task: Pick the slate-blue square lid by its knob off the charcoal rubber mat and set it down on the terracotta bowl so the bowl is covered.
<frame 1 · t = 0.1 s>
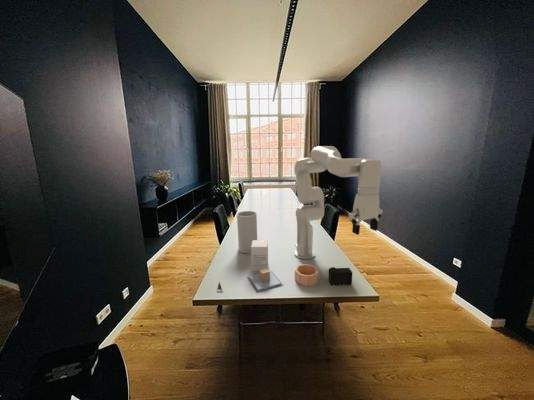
hand: (364, 231, 91), 31 cm above the table, fingers open, 9 cm apart
mat: (264, 282, 110), on the table
lid: (264, 281, 110), point 1 cm above the table, touching mat
digital camera: (339, 282, 110), on the table
supplement box: (260, 268, 124), on the table
bowl: (306, 280, 111), on the table
cylinder vase: (248, 249, 147), on the table
rose gold cell phone: (225, 283, 111), on the table
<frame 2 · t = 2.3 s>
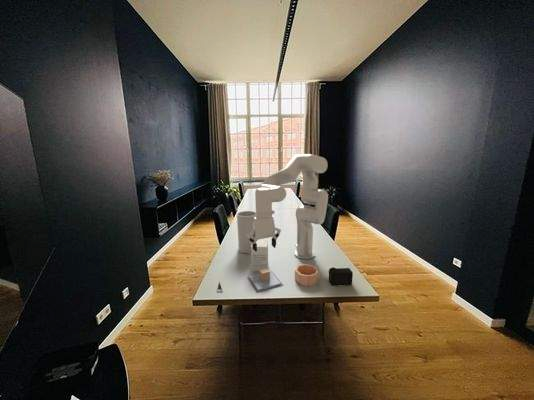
hand: (264, 248, 106), 19 cm above the table, fingers open, 9 cm apart
nothing on the table moved.
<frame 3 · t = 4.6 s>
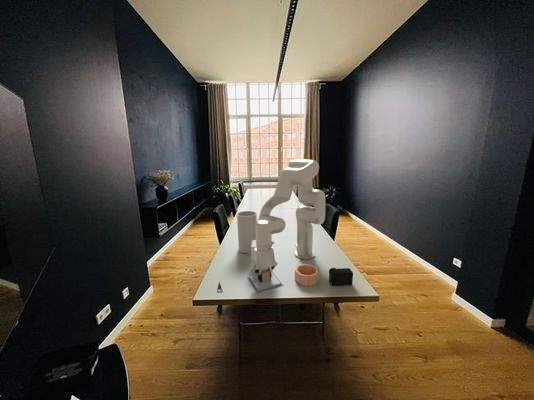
hand: (264, 279, 110), 2 cm above the table, fingers closed on lid, 4 cm apart
lid: (264, 281, 110), point 1 cm above the table, touching gripper, mat
everything else where it was.
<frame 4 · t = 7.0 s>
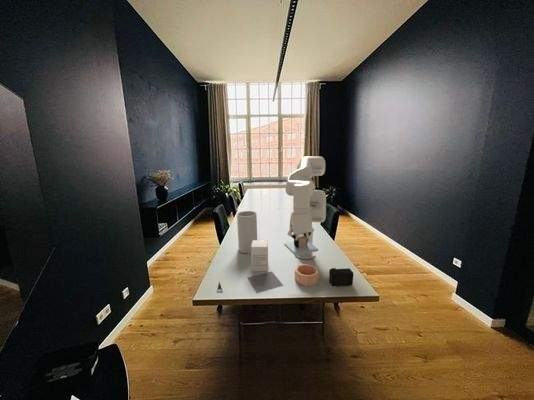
hand: (300, 245, 107), 19 cm above the table, fingers closed on lid, 4 cm apart
lid: (300, 247, 107), point 18 cm above the table, touching gripper
everything else where it was.
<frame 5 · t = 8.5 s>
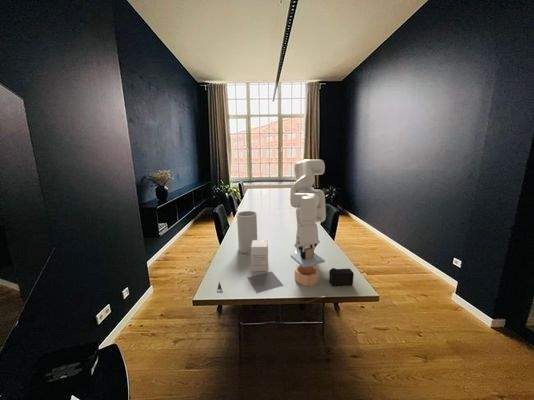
hand: (307, 257, 108), 13 cm above the table, fingers closed on lid, 4 cm apart
lid: (307, 259, 108), point 12 cm above the table, touching gripper
everything else where it was.
when the fingers open (8 cm above the table, at t = 9.7 s): lid drops 1 cm, resting on bowl.
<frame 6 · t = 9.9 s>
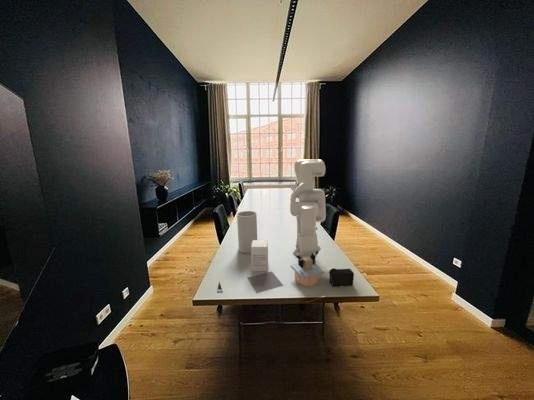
hand: (306, 264, 110), 9 cm above the table, fingers open, 6 cm apart
lid: (306, 269, 110), point 6 cm above the table, touching bowl
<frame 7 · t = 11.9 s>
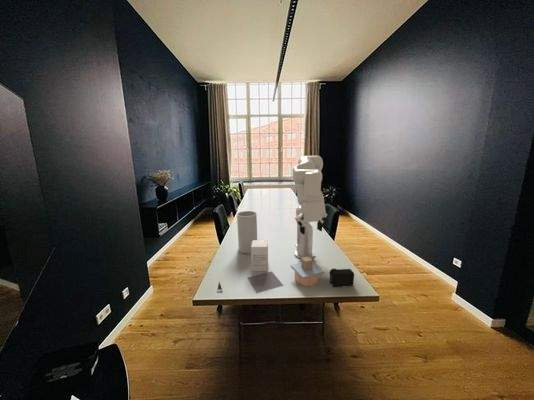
hand: (311, 231, 108), 25 cm above the table, fingers open, 9 cm apart
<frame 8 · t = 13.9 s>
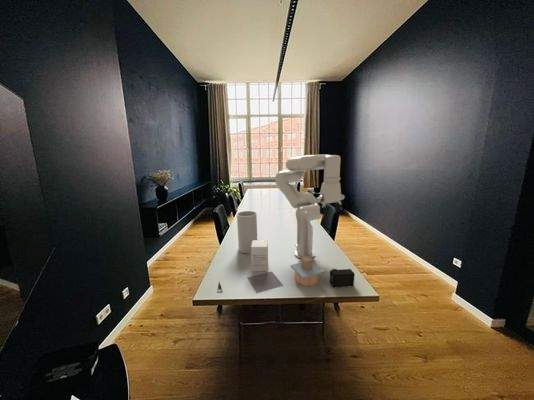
hand: (329, 213, 114), 32 cm above the table, fingers open, 9 cm apart
at the end: lid 0.0 cm off-centre on the bowl, point 5.8 cm above the bowl's base; lid tilted 0°; the gripper is holding nothing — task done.
